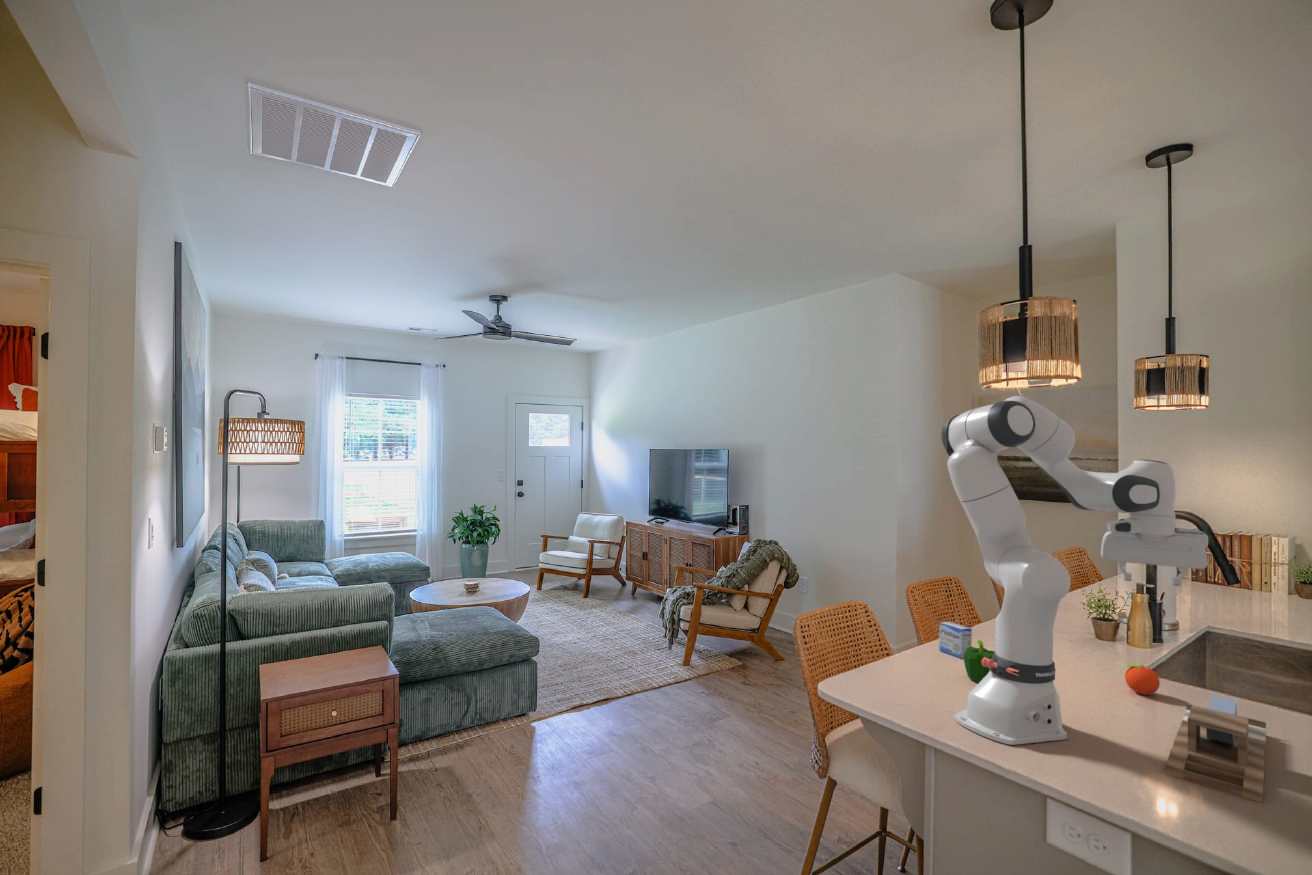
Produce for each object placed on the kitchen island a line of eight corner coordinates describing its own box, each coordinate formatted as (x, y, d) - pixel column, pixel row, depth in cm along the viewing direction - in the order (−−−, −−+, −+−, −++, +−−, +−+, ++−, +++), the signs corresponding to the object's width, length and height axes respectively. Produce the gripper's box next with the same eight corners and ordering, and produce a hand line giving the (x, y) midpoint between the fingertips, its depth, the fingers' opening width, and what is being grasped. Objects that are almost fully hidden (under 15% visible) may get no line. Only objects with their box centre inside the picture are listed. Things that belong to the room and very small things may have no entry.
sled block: (1233, 744, 123) (1233, 721, 123) (1206, 737, 126) (1206, 715, 126) (1236, 721, 134) (1236, 700, 135) (1212, 715, 137) (1212, 695, 137)
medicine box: (938, 650, 185) (939, 622, 186) (949, 649, 187) (949, 620, 187) (961, 659, 178) (961, 629, 178) (971, 657, 180) (972, 627, 180)
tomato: (1122, 694, 154) (1122, 666, 154) (1117, 685, 160) (1117, 658, 160) (1163, 701, 150) (1163, 671, 150) (1155, 691, 156) (1155, 663, 156)
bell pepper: (996, 689, 155) (996, 649, 156) (961, 681, 160) (961, 642, 161) (1001, 679, 162) (1002, 641, 162) (967, 672, 167) (967, 635, 167)
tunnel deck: (1262, 802, 106) (1262, 757, 106) (1165, 773, 115) (1165, 731, 115) (1265, 735, 132) (1265, 698, 132) (1186, 715, 141) (1186, 681, 142)
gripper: (1205, 528, 146) (1205, 586, 146) (1100, 521, 158) (1100, 575, 157) (1211, 531, 141) (1211, 591, 141) (1101, 524, 152) (1101, 579, 152)
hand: (1151, 583), depth 149 cm, fingers open, 8 cm apart
